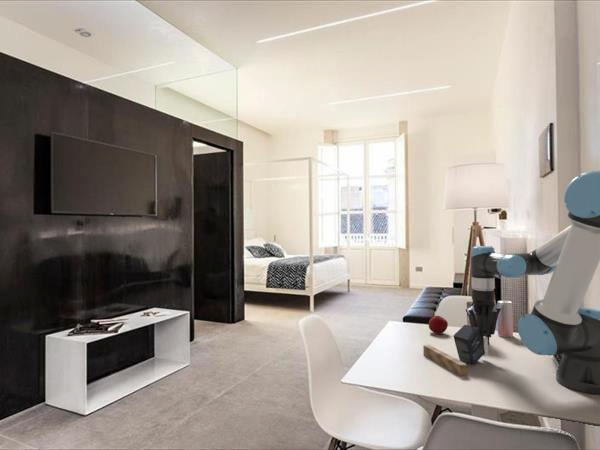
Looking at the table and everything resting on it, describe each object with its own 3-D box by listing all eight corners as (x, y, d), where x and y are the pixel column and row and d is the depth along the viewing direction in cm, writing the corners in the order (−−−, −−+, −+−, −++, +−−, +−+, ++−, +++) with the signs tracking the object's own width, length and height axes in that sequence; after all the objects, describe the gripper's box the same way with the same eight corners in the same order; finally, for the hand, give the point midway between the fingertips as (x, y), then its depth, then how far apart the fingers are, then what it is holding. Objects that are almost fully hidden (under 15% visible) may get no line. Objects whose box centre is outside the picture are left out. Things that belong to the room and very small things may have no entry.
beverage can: (494, 334, 170) (493, 300, 170) (505, 333, 171) (504, 300, 172) (505, 338, 164) (504, 303, 164) (516, 336, 166) (515, 302, 166)
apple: (439, 336, 167) (439, 318, 167) (425, 332, 174) (425, 315, 174) (451, 334, 171) (451, 316, 171) (436, 330, 178) (436, 313, 178)
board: (467, 375, 122) (467, 364, 122) (460, 376, 122) (460, 365, 122) (429, 354, 144) (429, 344, 144) (423, 354, 143) (423, 345, 143)
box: (471, 349, 140) (464, 323, 138) (485, 353, 135) (479, 326, 133) (459, 361, 136) (452, 334, 134) (474, 365, 131) (467, 338, 129)
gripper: (491, 286, 142) (491, 349, 142) (460, 288, 140) (461, 352, 140) (506, 290, 135) (506, 356, 135) (473, 291, 132) (474, 359, 132)
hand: (483, 354), depth 137 cm, fingers closed
